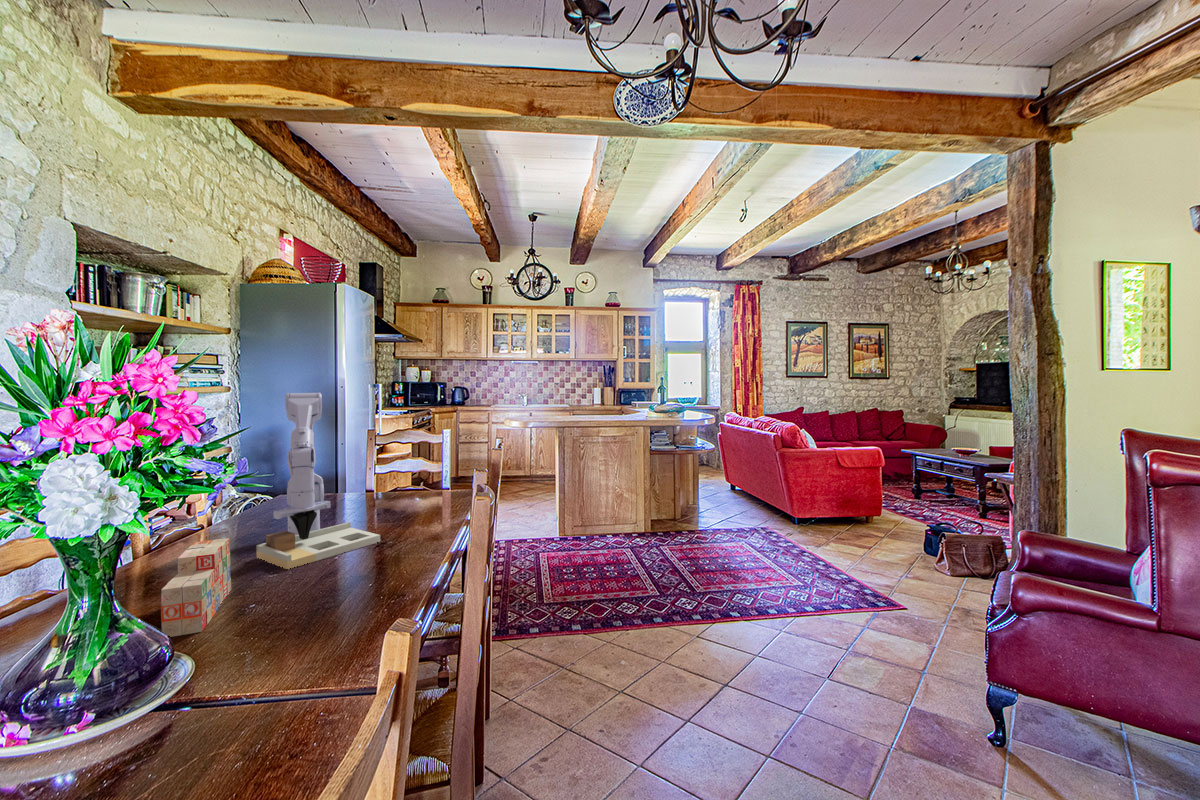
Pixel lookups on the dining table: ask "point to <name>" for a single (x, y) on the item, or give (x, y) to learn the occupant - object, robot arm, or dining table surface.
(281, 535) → the walnut block
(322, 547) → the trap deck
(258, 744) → the dining table surface
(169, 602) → the stack of blocks
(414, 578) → the dining table surface
